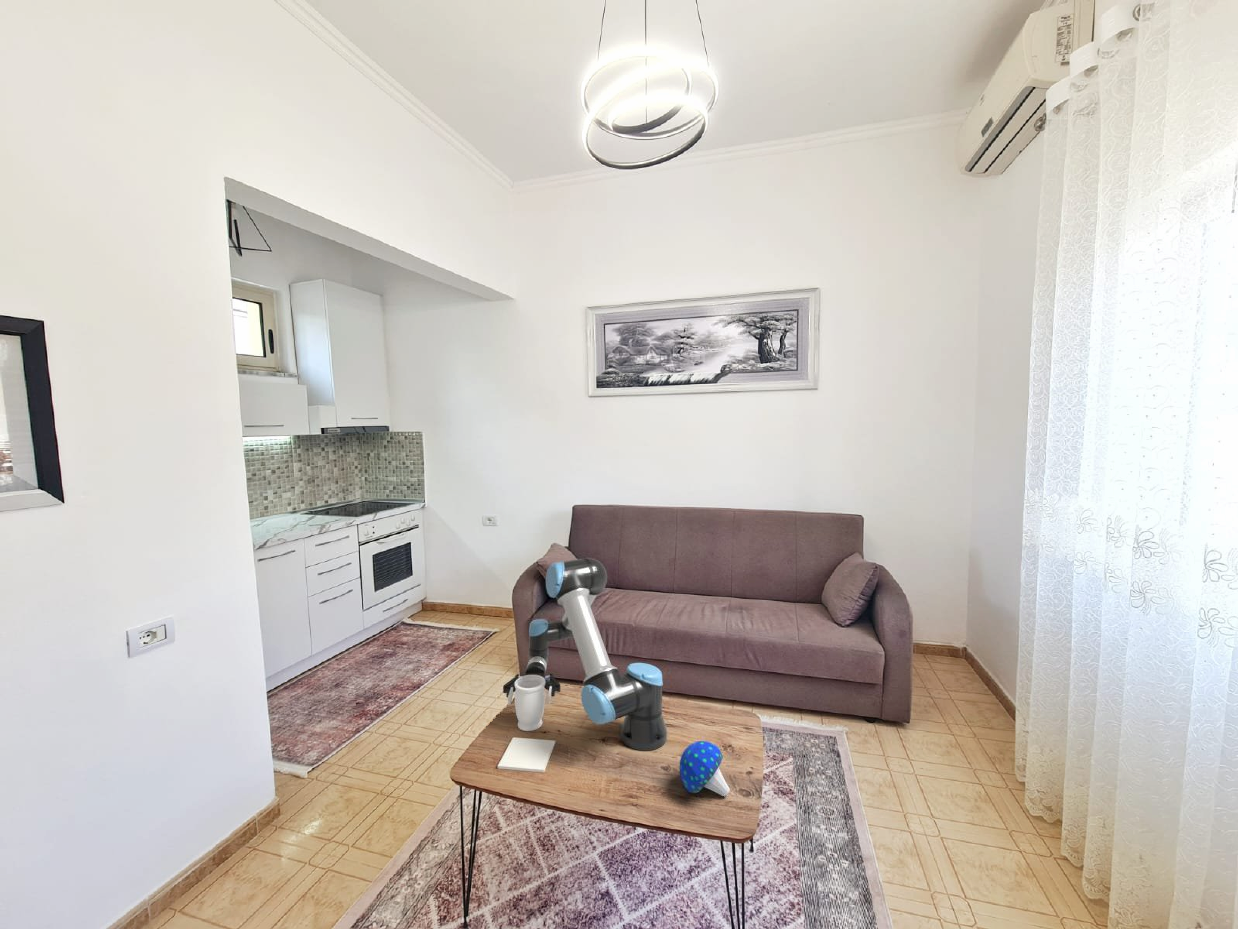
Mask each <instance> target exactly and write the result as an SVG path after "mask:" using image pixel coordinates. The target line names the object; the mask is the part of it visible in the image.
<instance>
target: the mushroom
mask: <svg viewBox="0 0 1238 929" xmlns="http://www.w3.org/2000/svg"><path fill="white" fill-rule="evenodd" d="M721 751H722V750H721V749H720V747H719V746H717V745H716V744H714V743H712V742H710V741H705V740H699V741H694V742H693V743H691V744H689V745H688V746H687V747H686V748H685V749H684V751H683V752H682V754H681V756H680V759H679V774H680V779H681V782H682V783H683V786H684V787H685V789H686V790H687V791H688V792H689V793H692V794H696V793H699V792H700V791H701V790H702V789H703V788H706V789H708V790H711V791H712V792H715V793H716V794H718V795H719V796H722V797H723V796H724V797H723V798H726V797H727V795H728V794H729V792H730V790H731V789H730V787H729V786H728V784H727V781H726V780H725V778H724V776H723V773H722V772H721V770H720V765H721V764H722V760H723V758H724V756H723V754H722V752H721Z"/></svg>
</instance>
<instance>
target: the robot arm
mask: <svg viewBox="0 0 1238 929" xmlns="http://www.w3.org/2000/svg"><path fill="white" fill-rule="evenodd" d="M545 574H546V575H545V590H546V593H547V595H548V596H549V597H550V598H554V599H555V598H556V602H557V604H558V605H559V606H562V607H563V608H564V612H565V613H564V614H563V616H562V618H561V619H560V620H558V621H554V622H548V620H546V619H545V618H540V619H539V618H538V619H534V620H532V621H531V622H530V623H529V627H528V628H529V629H528V647H529V648H528V651H529V652H528V663H527V665H526V669H525V671H524V672H525V673H524V675H521V676H520V674H519V673H517V674H515V675H514V677H512V679H510V680H509V681H507V682H506V683H505V684H504V685H503V686H502V687H503V688H502V693H503V694H506V698H507V705H509V706H510V705H511V703H512V701H513V700H512V699H513V696H514V693H515V691H516V688H515V681H516V680H517V679H518V678H520V677H523V676H526V675H539V676H542V677H543V678H544V679H545V686H544V688H545V690H546V691H548V694H547V695H548V696H547V700H548V701H547V703H548V704H551V701H552V697H555V695H556V693H560V692H561V683H560V682H559V681H558V680H557V678H555V676H554V674H553V673H549V675H546V674H547V673H546V671H547V666H548V661H549V658H550V657H549V656H550V655H549V644H550V643H554V642H558V641H562V640H567V639H570V638H573V639H574V642H575V645H576V648H577V651H578V654H579V658H580V661H581V663H582V668H583V670H584V673H585V677H584V679H583V682H582V683H583V687H582V689H581V692H580V696H581V704H582V707H583V710H584V712H585V714H586V716H587V717H588V718H589V719H590V720H591V721H592V722H593V723H595V724H597V725H604V724H607V723H612V722H614V721H615V720H619V719H621V718H623V717H624V719H623V722H622V725H621V728H620V738H621V741H622V742H623V743H624V745H626V746H627V747H629V748H631V749H634V750H637V751H643V752H644V751H655V750H656V749H659V748H661V747H663V746H664V745H665V744H666V742H667V740H668V730H667V726H666V723H665V720H664V716H663V686H664V683H663V673H662V671H661V670H660V669H659V668H658V667H656V666H654V665H652V664H649V663H644V662H633V663H630V664H629V665H628V666H627V668H626V670H625V671H626V673H624V674H621V675H620V672H619V669H618V667H616V666H614V665H612V663H611V661H610V658H609V655H608V652H607V649H606V646H605V643H604V642H603V638H602V636H601V631H600V630H599V627H598V624H597V621H596V619H595V616H594V612H593V610H592V607H591V606H592V605H593V603H594V601H595V600H596V598H597V596H598V595H600V594H602V593H603V591H604V589H605V588H606V585H607V582H608V574H607V570H606V568H605V566H604V564H602V563H601V561H599V560H598V559H596V558H592V557H583V558H580V559H579V558H578V559H571V560H566V561H563V560H562V561H558V562H554V563H551V564H550V565H549V566H548V569H547V571H546V573H545Z"/></svg>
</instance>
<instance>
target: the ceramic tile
mask: <svg viewBox="0 0 1238 929" xmlns="http://www.w3.org/2000/svg"><path fill="white" fill-rule="evenodd" d="M555 745H556V740H554V739H553V740H552V739H551V740H549V739H538V738H525V737H512V739H511V740H510V742H509V744H508V746H507V748H506V750H505V752H504V753H503V755H502V757H501V759H500V761H499V762H498V764H497V769H499V770H511V771H524V772H533V773H534V772H535V773H545V771H546V767H547V765H548V764H549V761H550V757H551V755H552V753H553V750H554V748H555Z"/></svg>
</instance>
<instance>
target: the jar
mask: <svg viewBox="0 0 1238 929" xmlns="http://www.w3.org/2000/svg"><path fill="white" fill-rule="evenodd" d="M522 676H523V677H520V678H518V679H517V680H516V681H515V688H516V691H515V692H514V708H515V714H516V718H517V720H518V722H517V727H518V729H520V730H521V731H524V732H533V731H536V730H538V729H539V728H541V727H542V725H543V719H542V718H543V716H544V712H545V706H546V697H547V696H546V689H545V688H544V686H545V679H544V678H543V677H542V676H539V675H526V676H524V675H522Z"/></svg>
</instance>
